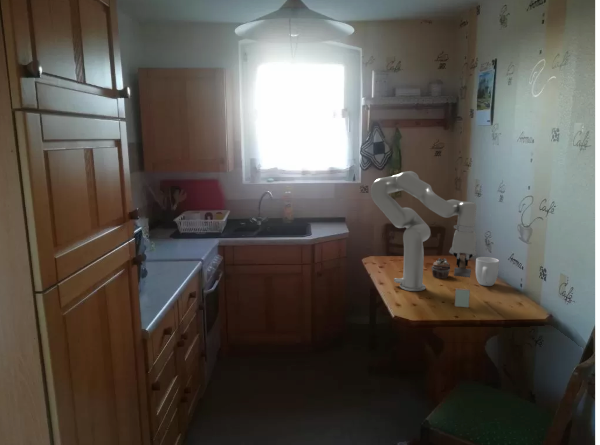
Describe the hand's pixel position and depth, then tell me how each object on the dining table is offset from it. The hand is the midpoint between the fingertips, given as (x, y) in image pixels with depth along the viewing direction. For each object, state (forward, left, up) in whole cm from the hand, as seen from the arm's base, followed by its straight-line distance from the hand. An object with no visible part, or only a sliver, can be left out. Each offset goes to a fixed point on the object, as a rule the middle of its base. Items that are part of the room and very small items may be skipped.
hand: (461, 266), depth 221 cm
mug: (+14, +22, -15) cm, 30 cm away
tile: (0, -14, -15) cm, 20 cm away
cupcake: (-8, +32, -15) cm, 36 cm away
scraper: (0, 0, -1) cm, 1 cm away
